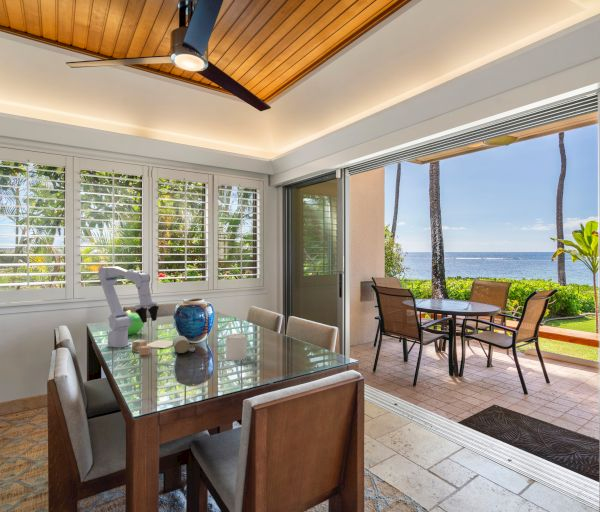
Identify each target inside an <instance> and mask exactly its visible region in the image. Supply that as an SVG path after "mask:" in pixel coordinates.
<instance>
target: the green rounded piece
mask: <svg viewBox="0 0 600 512" xmlns="http://www.w3.org/2000/svg"><path fill="white" fill-rule="evenodd" d="M125 312H127V313H128V316H129V317H130V318H131V325H130V326H129V328H128V336H131V335H135V334H138V333H139V332H141V330H143V328H144V326H145V323H143V322H142V320H141V318H140V317H139V315H138V314H137V313H136V312H133V311H132V310H130V309H128V310H126V311H125Z"/></svg>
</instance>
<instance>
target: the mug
mask: <svg viewBox="0 0 600 512" xmlns="http://www.w3.org/2000/svg"><path fill="white" fill-rule="evenodd" d="M247 355H248V334H245V333H229V334H227V335H225V360H227V361H230V360H233V362H234V361H235V360H239V361H243V360H242V359H244V360H246V359H247V358H248V356H247ZM245 358H246V359H245ZM235 362H236V361H235Z"/></svg>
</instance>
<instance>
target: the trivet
mask: <svg viewBox="0 0 600 512" xmlns="http://www.w3.org/2000/svg"><path fill="white" fill-rule="evenodd" d="M172 345H173V340H164V339H163V340H162V339H158V340H155V341H152V342H149V343H147V346H151V349H160V348H164V349H163V350H166V349H169V348H171V347H173V346H172ZM170 346H171V347H170ZM168 347H169V348H168ZM165 348H166V349H165Z"/></svg>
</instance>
